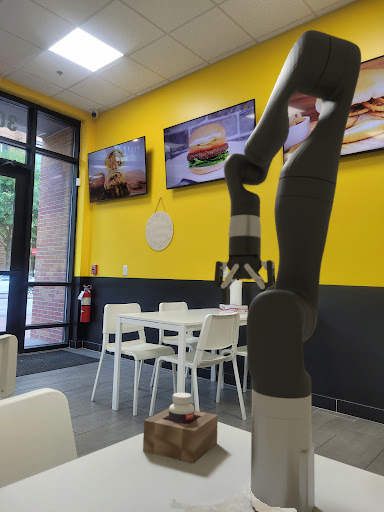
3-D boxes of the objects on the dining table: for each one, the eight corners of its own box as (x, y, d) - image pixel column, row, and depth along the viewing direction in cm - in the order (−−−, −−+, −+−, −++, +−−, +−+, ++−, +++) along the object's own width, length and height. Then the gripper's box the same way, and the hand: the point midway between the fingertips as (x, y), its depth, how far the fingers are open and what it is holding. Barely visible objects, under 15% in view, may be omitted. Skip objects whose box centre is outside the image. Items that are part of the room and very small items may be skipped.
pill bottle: (188, 448, 76) (190, 399, 76) (164, 445, 77) (165, 396, 78) (196, 439, 81) (197, 392, 82) (172, 435, 82) (174, 390, 83)
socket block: (217, 443, 81) (217, 414, 82) (193, 463, 71) (194, 430, 72) (171, 433, 87) (172, 406, 87) (142, 450, 76) (144, 420, 77)
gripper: (278, 237, 88) (278, 306, 87) (222, 240, 95) (221, 304, 93) (270, 232, 82) (269, 306, 80) (210, 235, 88) (209, 304, 86)
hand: (243, 305), depth 87 cm, fingers open, 8 cm apart
